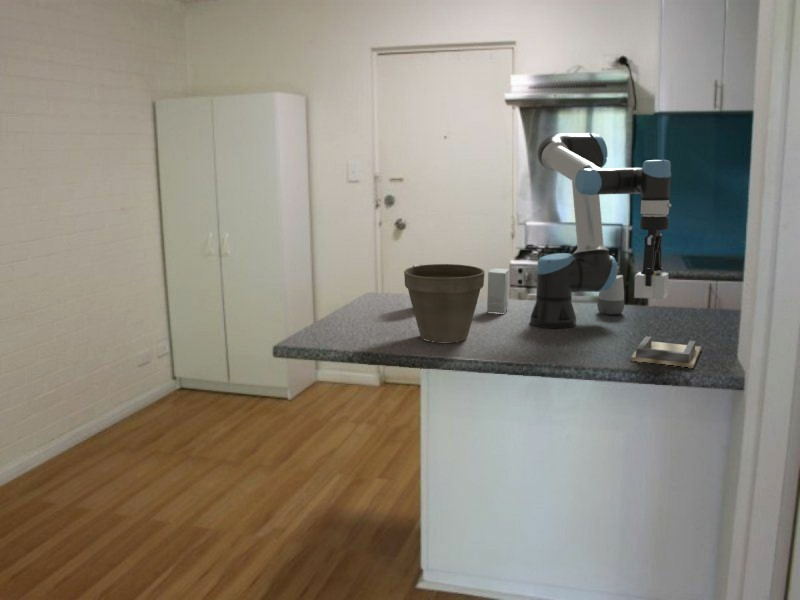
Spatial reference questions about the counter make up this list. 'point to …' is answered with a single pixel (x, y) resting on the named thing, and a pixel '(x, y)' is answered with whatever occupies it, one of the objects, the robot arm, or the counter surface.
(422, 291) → the plant pot
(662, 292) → the lock block
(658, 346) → the board
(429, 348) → the counter surface
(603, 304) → the smart speaker
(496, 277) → the skincare box
